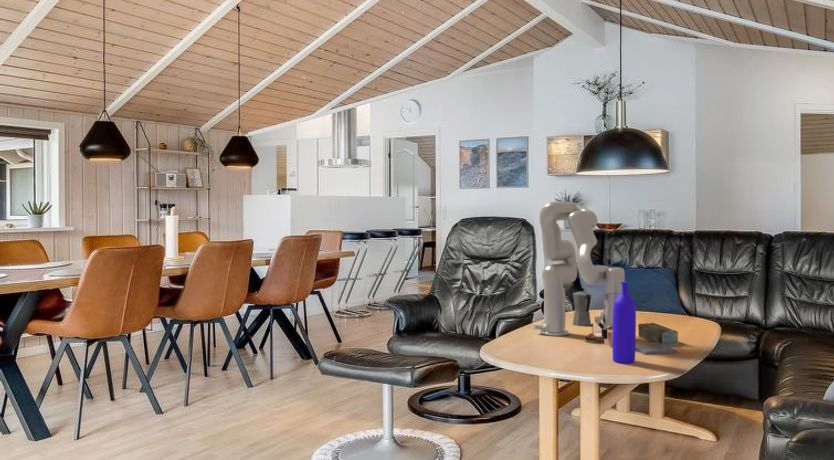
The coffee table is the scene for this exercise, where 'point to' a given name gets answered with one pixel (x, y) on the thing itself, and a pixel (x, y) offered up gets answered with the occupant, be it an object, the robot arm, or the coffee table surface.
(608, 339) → the cube
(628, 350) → the bottle
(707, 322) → the coffee table surface
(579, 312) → the coffeepot
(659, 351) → the coaster
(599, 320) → the robot arm
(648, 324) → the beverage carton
